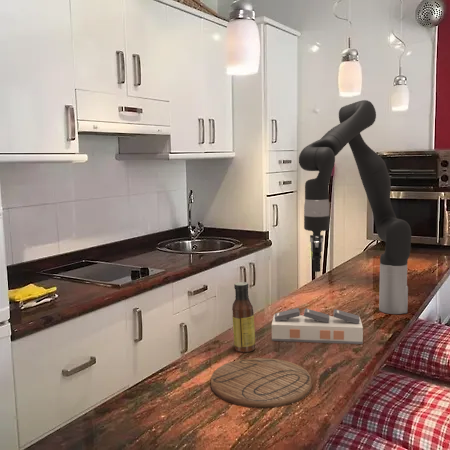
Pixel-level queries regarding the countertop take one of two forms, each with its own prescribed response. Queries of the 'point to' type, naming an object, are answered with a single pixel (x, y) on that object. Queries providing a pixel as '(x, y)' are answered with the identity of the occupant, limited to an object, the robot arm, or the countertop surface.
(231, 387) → the trivet
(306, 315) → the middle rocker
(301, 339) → the switch console
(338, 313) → the plate
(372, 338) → the countertop surface
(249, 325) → the sauce bottle
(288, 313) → the far rocker
